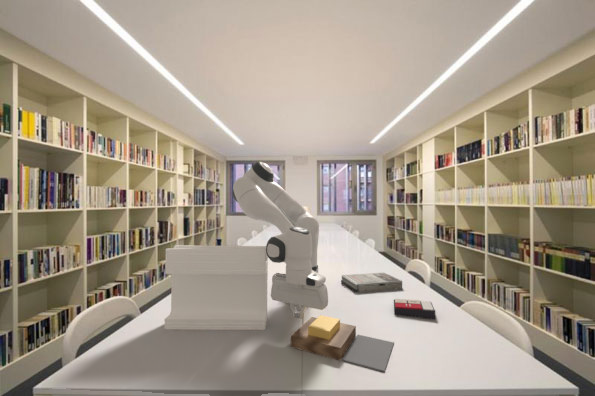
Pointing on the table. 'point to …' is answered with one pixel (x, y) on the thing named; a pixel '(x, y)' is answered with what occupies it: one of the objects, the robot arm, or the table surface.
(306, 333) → the panel
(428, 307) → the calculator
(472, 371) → the table surface
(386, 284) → the hard drive
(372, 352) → the mat
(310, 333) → the yellow rectangular block
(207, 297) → the block
